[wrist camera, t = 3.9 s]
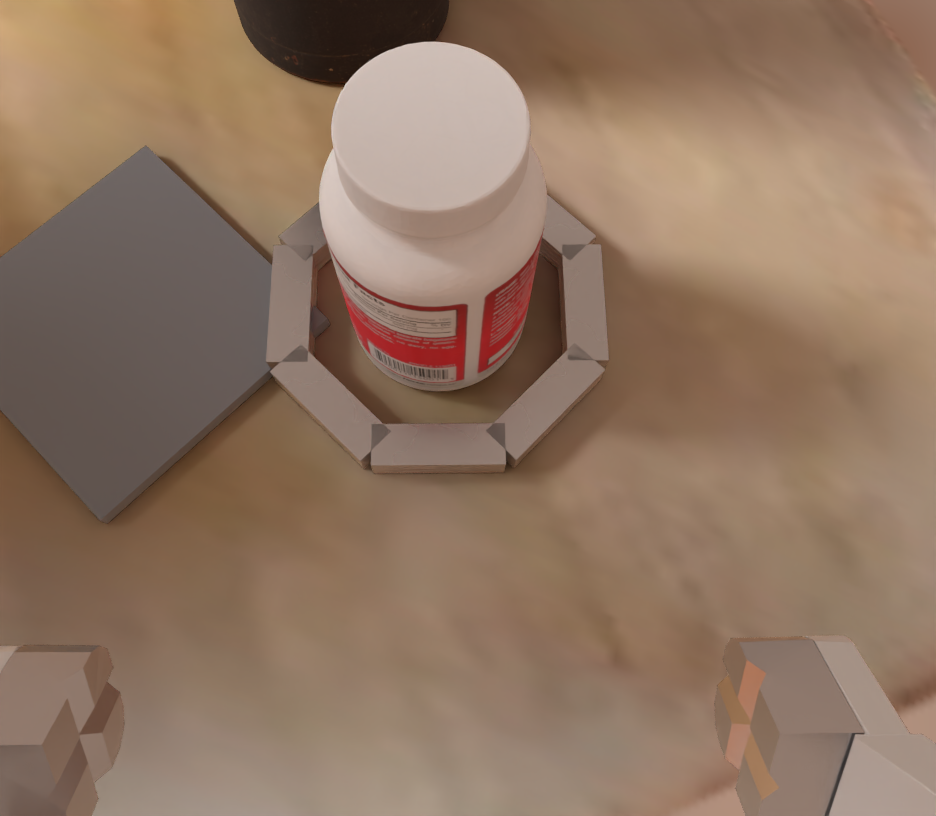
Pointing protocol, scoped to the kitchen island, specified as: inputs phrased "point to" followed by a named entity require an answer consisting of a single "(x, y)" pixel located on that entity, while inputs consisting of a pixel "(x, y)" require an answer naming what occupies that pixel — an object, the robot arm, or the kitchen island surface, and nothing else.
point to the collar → (448, 442)
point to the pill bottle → (434, 212)
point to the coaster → (130, 331)
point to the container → (336, 32)
